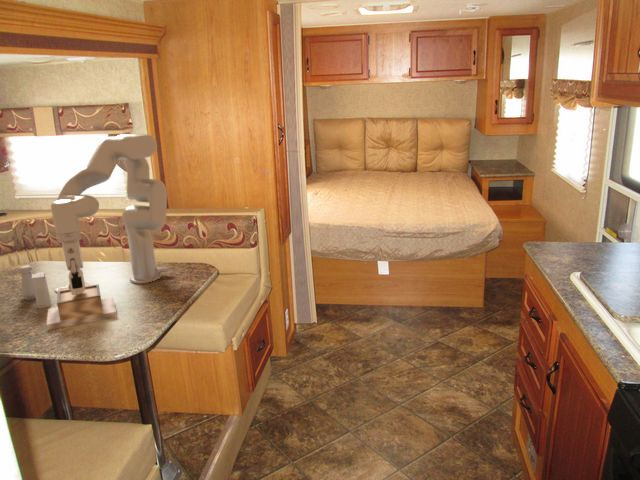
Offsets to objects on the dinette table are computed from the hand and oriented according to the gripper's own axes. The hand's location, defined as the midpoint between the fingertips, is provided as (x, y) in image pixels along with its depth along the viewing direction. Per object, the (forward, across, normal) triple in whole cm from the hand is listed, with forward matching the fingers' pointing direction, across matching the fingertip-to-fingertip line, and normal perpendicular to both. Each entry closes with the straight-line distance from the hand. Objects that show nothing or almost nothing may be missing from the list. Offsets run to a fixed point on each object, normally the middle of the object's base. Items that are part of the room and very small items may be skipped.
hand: (77, 284), depth 181 cm
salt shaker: (+12, +27, +18) cm, 35 cm away
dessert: (+13, +27, +3) cm, 30 cm away
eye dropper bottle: (+3, 0, 0) cm, 3 cm away
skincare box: (+12, +17, +13) cm, 25 cm away
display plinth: (+12, 0, 0) cm, 12 cm away
